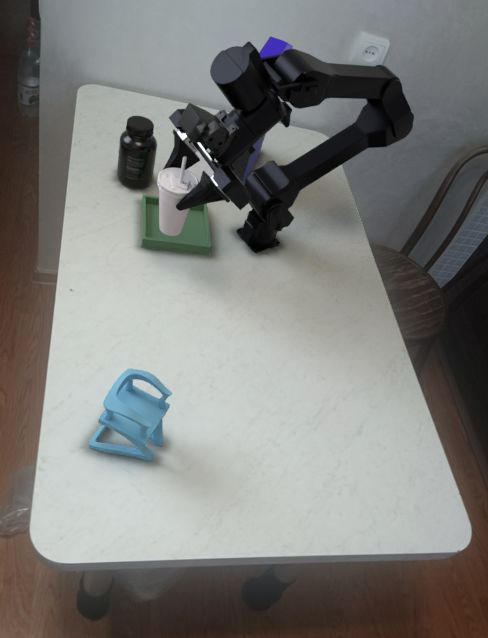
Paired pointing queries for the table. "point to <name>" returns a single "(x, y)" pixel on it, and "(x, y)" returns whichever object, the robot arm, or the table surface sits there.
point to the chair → (133, 415)
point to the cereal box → (247, 159)
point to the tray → (188, 240)
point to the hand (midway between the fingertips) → (168, 195)
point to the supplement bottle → (137, 153)
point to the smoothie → (174, 197)
